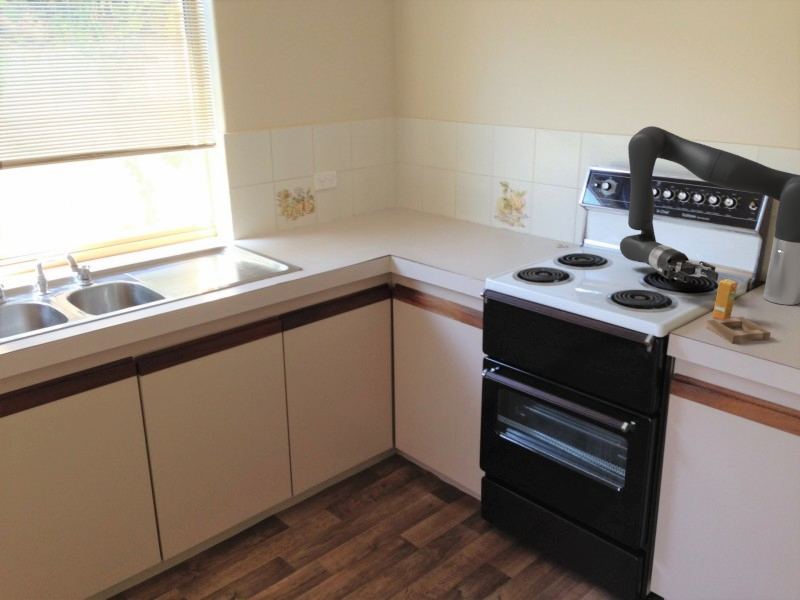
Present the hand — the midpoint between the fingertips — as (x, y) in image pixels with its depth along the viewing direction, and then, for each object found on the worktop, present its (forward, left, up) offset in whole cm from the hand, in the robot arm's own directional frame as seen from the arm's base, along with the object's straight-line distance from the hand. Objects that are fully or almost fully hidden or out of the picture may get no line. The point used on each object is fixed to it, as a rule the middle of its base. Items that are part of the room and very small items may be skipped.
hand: (702, 278), depth 193 cm
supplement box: (0, +10, -8) cm, 13 cm away
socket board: (+3, +20, -8) cm, 22 cm away
